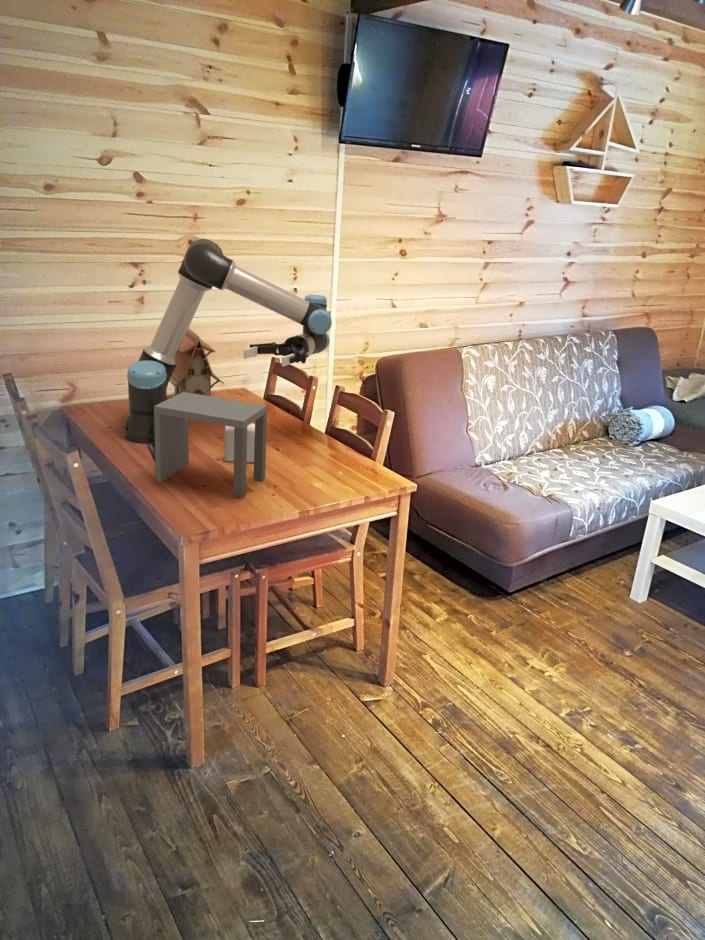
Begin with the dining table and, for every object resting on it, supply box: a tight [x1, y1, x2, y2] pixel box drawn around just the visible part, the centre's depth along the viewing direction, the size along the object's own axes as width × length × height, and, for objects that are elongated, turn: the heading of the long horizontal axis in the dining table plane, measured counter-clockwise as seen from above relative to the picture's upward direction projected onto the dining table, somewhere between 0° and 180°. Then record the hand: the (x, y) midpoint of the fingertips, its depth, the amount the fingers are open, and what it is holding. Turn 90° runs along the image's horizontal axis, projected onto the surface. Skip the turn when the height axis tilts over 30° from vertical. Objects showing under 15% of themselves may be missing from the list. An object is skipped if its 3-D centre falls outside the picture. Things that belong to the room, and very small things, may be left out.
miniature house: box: [169, 328, 224, 397], centre depth 259 cm, size 18×24×30 cm
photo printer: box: [223, 423, 255, 463], centre depth 218 cm, size 10×4×12 cm, turn 92°
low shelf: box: [154, 392, 268, 499], centre depth 201 cm, size 26×16×22 cm, turn 74°
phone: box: [147, 442, 155, 462], centre depth 222 cm, size 8×1×15 cm
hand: (263, 358), depth 218 cm, fingers open, 13 cm apart
